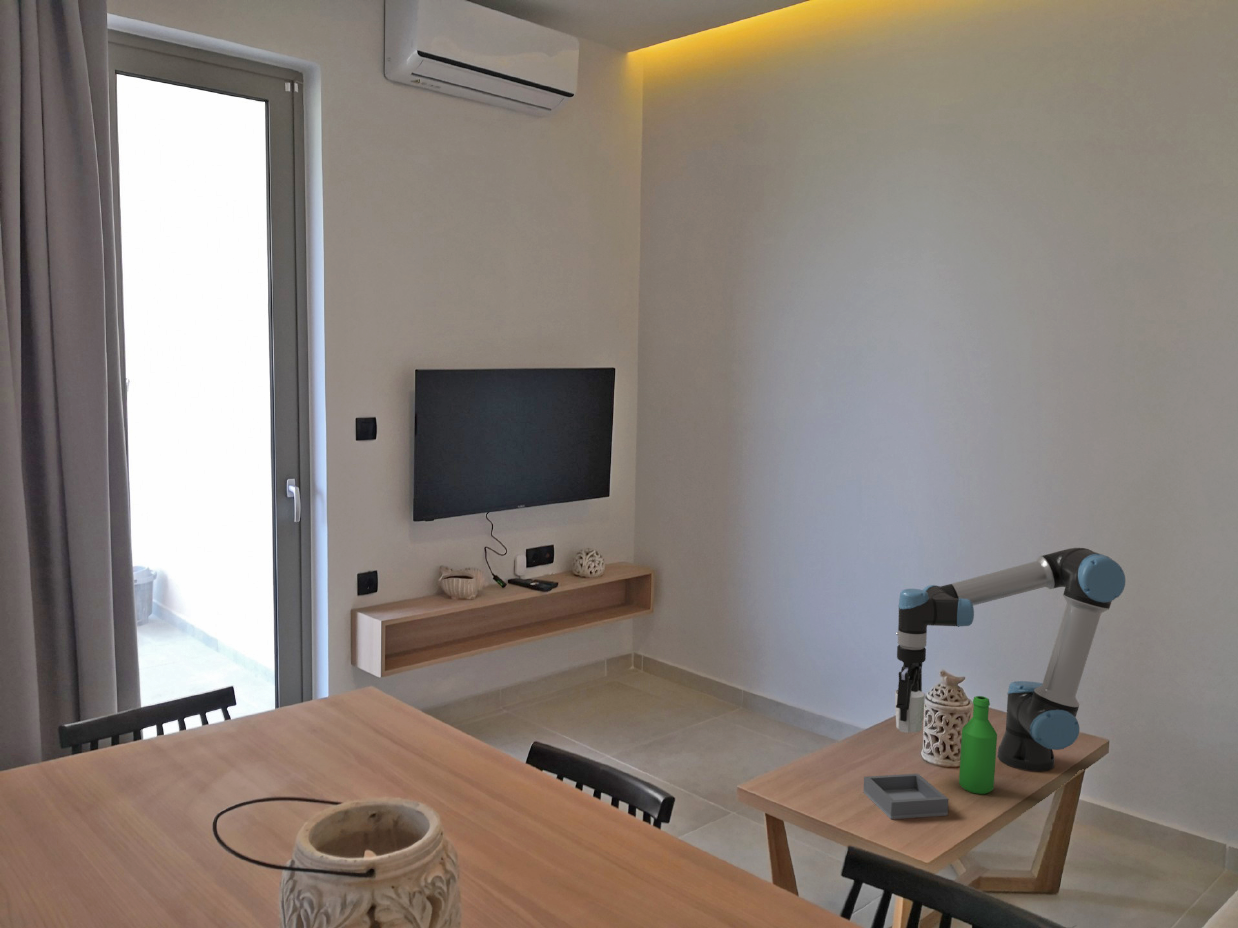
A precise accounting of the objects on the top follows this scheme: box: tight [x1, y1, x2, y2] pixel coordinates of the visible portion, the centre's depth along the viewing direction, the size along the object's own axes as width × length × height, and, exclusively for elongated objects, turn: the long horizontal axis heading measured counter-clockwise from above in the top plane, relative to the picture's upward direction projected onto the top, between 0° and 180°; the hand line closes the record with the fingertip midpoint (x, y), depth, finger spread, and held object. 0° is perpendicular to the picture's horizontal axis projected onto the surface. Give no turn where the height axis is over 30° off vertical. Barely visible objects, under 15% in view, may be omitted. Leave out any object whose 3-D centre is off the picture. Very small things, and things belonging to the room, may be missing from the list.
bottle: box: [958, 695, 998, 795], centre depth 253 cm, size 9×9×25 cm
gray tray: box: [863, 773, 950, 820], centre depth 243 cm, size 15×15×4 cm
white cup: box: [894, 689, 926, 734], centre depth 260 cm, size 8×8×10 cm
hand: (908, 726), depth 261 cm, fingers closed on white cup, 7 cm apart
